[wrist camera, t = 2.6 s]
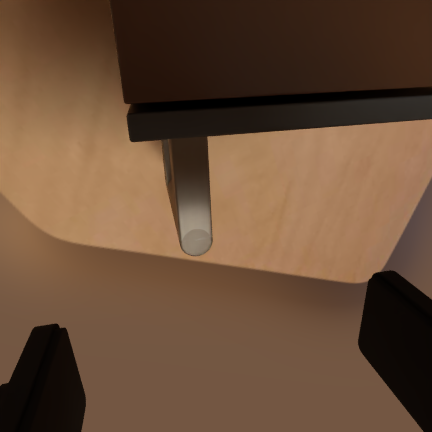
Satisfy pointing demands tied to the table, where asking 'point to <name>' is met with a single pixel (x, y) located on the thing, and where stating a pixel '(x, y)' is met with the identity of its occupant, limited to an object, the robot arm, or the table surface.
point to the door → (249, 123)
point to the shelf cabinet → (269, 47)
